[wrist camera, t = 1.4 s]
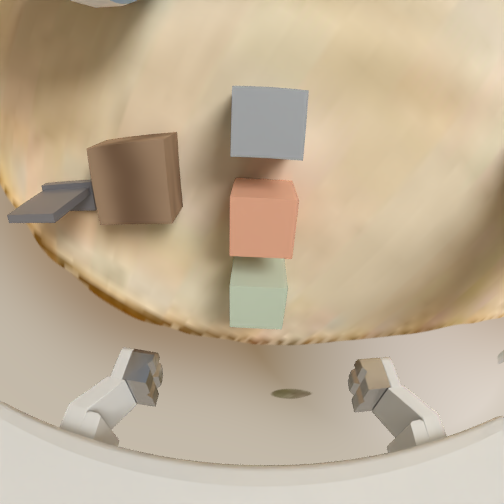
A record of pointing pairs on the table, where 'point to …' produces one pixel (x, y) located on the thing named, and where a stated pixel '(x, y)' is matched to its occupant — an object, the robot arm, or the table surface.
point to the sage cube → (258, 292)
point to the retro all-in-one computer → (104, 2)
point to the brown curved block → (136, 179)
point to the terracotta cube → (263, 218)
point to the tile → (55, 202)
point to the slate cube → (268, 122)
